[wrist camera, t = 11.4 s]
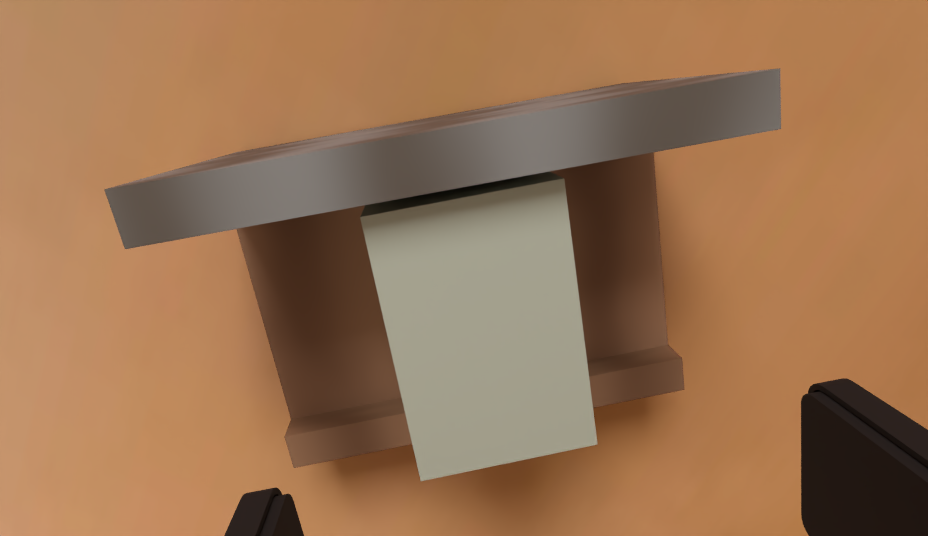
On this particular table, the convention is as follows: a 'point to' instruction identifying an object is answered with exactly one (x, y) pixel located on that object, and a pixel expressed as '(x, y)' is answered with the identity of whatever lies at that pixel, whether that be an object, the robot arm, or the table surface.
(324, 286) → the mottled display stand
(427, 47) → the table surface
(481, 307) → the mini block
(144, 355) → the table surface
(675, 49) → the table surface
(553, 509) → the table surface
